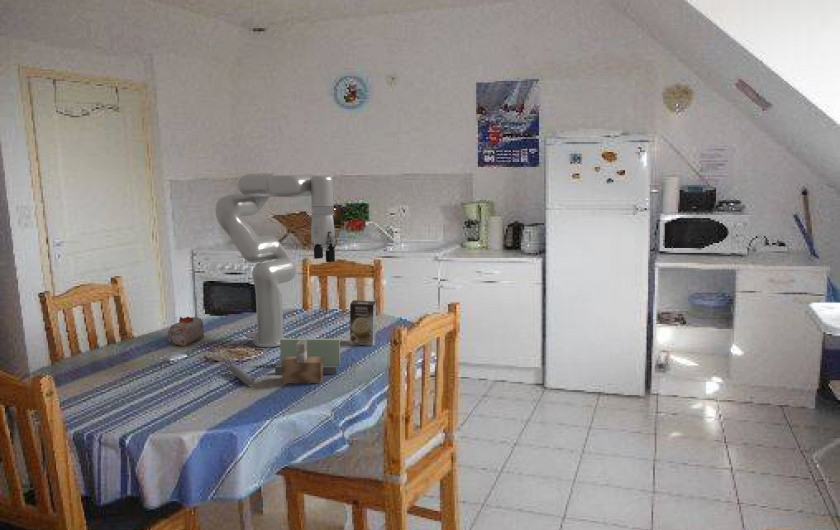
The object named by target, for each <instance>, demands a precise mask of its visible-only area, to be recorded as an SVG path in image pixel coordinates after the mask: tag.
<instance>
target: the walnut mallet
mask: <svg viewBox="0 0 840 530" xmlns="http://www.w3.org/2000/svg"><path fill="white" fill-rule="evenodd" d="M296 346H297V357H285V358H284V360H283V361H282V374H281V375H282V376H281V377H282V379H281V382H282V383H318V384H317V385H320V384H321V383H322V382H323V378H324V374H323V366H324V365H323V357H307V340H299V341H298V343H297V344H296Z"/></svg>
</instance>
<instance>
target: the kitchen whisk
mask: <svg viewBox="0 0 840 530" xmlns="http://www.w3.org/2000/svg"><path fill="white" fill-rule="evenodd" d="M218 347H221V349H217V348H218ZM211 348H212V350H208V351H207V353H208V354H209V355H208V358H207V359H208V361H209V362H211V363H212V364H214V365H216V366H218V367H220V368H221V369H223V370H224V369H226V370H228V371H230V373H231V374H233V375H234V376H235V377H237V378H238V379H239V380H240V381H241V382H242V383H244V384H245V385H246V386H247V385H248V387H250V386H249V385H252V386H255V380H254V378H253V377H252V376H251V375H249V374H248V373H247V372H245V371H244V370H243V369H242V368H240V367H239V366H238V365H237V364H235V361H234V359H233V357H232V355H231V353H230V352H229V351H228V350H227V349H225V348H224V347H223V346H221V345H218V346H216V347H214V346H212V347H211ZM221 350H222V351H223V350H224V351H225V352H226V353H225V354H226V355H227V356H228V357H227V356H226V355H223V354H222V353H221V352H220V351H221ZM216 351H217V352H216ZM216 354H219V355H221V356H222V357H223V358H225V359H229V361H227V363H228V364H229V365H227V364H226V363H225V362H222V360H220V359H219V358H218V356H217V355H216ZM214 355H215V357H214ZM229 355H230V356H229ZM210 356H211V358H212V361H211V360H210ZM214 359H216V360H217V361H219V362H220V363H221V364H224V365H226V366H224V367H223V366H222V365H220V364H217V363H215V362H214ZM218 359H219V360H218ZM230 362H231V363H230Z"/></svg>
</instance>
